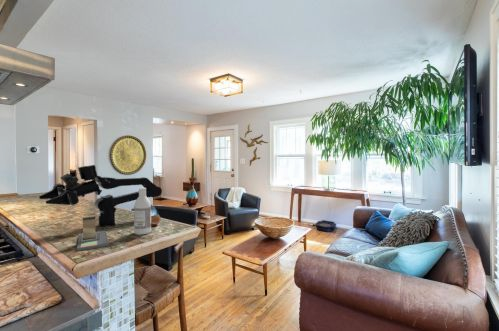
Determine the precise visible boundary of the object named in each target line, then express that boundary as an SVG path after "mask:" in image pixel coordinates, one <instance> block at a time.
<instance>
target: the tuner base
mask: <svg viewBox="0 0 499 331" xmlns="http://www.w3.org/2000/svg"><path fill="white" fill-rule="evenodd" d="M95 235H96V238H95V239H88V240H82V238H83V233H78V235H77V236H78V239H77V242H78V243H77V247H76V251H77V252H78V251H79V252H80V251H87V250H91V249H98V248H99V249H100V248H104V247H109V242H108V235H107V230H100V231H95Z"/></svg>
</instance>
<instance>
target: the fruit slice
mask: <svg viewBox="0 0 499 331" xmlns="http://www.w3.org/2000/svg"><path fill="white" fill-rule="evenodd" d="M160 223H161V216H160V215H159V214H155V215H151V227H155V226H157V225H159V224H160Z"/></svg>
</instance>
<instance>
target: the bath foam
mask: <svg viewBox="0 0 499 331" xmlns="http://www.w3.org/2000/svg"><path fill="white" fill-rule="evenodd" d="M138 191H139V197H138V198H137V200H135V201H134V205H133V206H134V207H133V228H134V229H133V233H134V234H135V235H140V236H141V235H149V234H150V233H151V231H152V226H151V217H152V204H151V201H150V199H149V197H147V196H146V188H144V187H139V188H138Z"/></svg>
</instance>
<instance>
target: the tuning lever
mask: <svg viewBox="0 0 499 331" xmlns="http://www.w3.org/2000/svg"><path fill="white" fill-rule="evenodd" d="M95 232H96V216H85V217H82V234H83V238H82V240H88V239H95V238H96V235H95Z"/></svg>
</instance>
